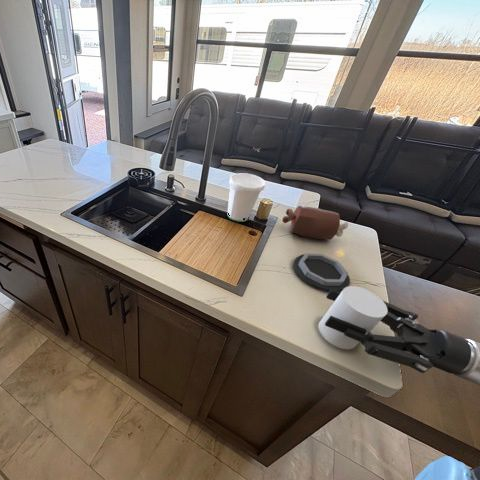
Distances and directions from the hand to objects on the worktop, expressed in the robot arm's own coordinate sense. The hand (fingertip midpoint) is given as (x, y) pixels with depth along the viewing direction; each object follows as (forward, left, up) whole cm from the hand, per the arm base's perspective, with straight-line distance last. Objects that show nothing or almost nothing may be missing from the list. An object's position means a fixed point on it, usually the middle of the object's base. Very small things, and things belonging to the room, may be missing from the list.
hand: (328, 306), depth 58 cm
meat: (+38, -16, -7) cm, 42 cm away
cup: (+49, +7, -7) cm, 50 cm away
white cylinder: (-2, -4, -7) cm, 9 cm away
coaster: (+18, -10, -7) cm, 21 cm away
